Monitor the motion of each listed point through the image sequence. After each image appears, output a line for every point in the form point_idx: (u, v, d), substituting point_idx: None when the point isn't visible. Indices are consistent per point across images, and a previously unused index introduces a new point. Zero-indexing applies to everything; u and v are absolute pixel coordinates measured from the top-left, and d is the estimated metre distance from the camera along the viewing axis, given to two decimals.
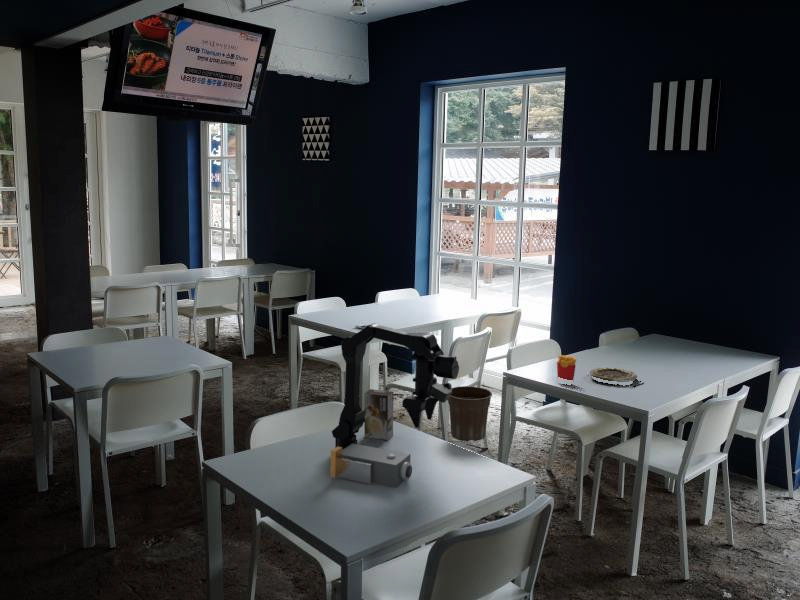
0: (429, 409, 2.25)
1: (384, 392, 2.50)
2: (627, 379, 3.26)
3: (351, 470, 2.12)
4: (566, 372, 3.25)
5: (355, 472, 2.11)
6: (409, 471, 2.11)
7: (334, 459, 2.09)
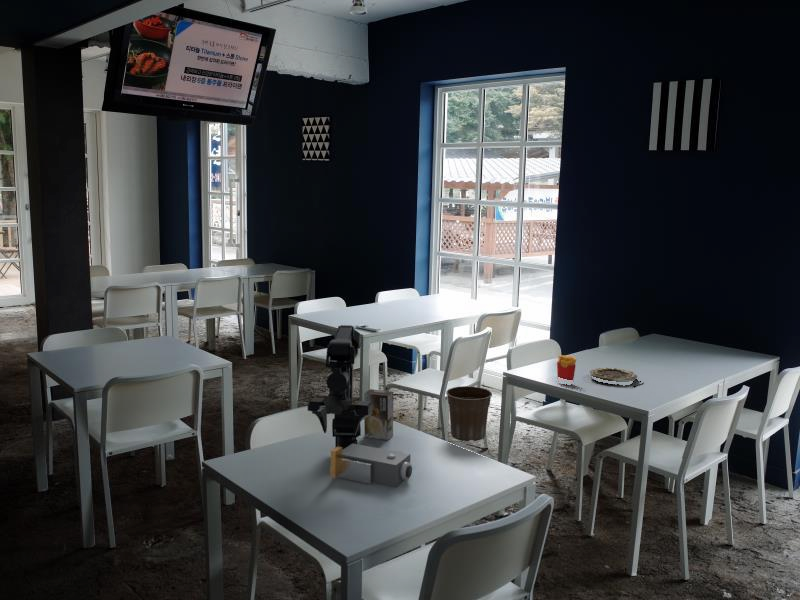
0: None
1: (384, 392, 2.50)
2: (627, 379, 3.25)
3: (351, 470, 2.12)
4: (566, 372, 3.25)
5: (355, 472, 2.11)
6: (409, 471, 2.11)
7: (334, 459, 2.09)
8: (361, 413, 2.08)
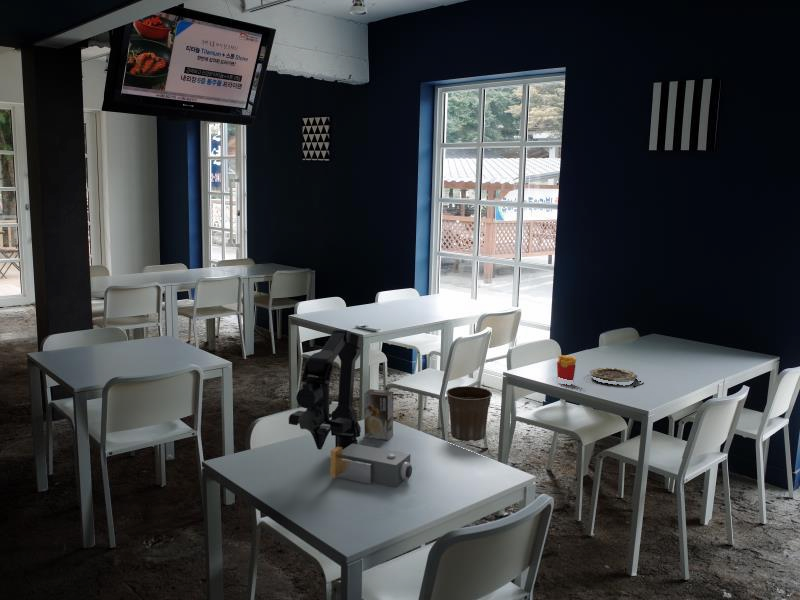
0: None
1: (384, 392, 2.50)
2: (627, 379, 3.25)
3: (351, 470, 2.12)
4: (566, 372, 3.25)
5: (355, 472, 2.11)
6: (409, 471, 2.11)
7: (334, 459, 2.09)
8: (336, 430, 2.06)
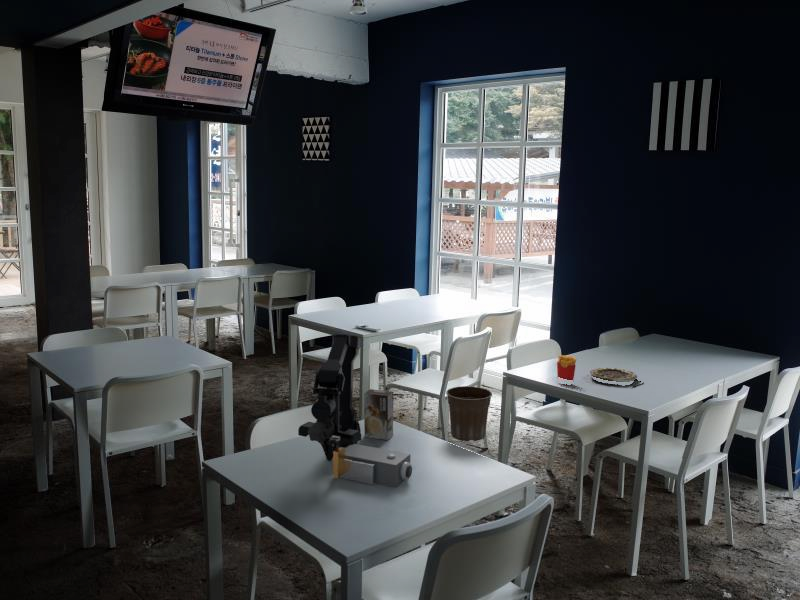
0: None
1: (384, 392, 2.50)
2: (627, 379, 3.25)
3: (353, 471, 2.11)
4: (566, 372, 3.25)
5: (357, 472, 2.11)
6: (409, 471, 2.11)
7: (337, 460, 2.08)
8: (346, 442, 2.05)
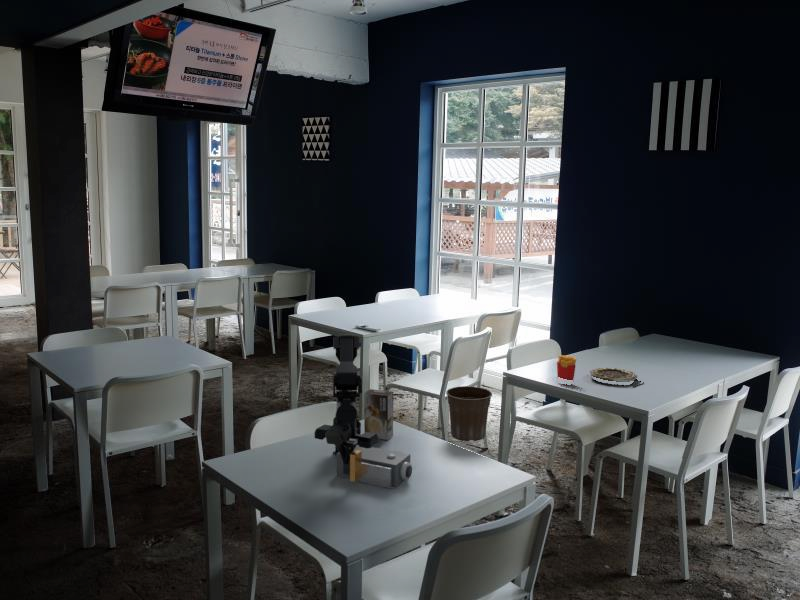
0: None
1: (384, 392, 2.50)
2: (627, 379, 3.25)
3: (370, 474, 2.09)
4: (566, 372, 3.25)
5: (374, 476, 2.08)
6: (409, 471, 2.11)
7: (354, 463, 2.06)
8: (363, 445, 2.02)
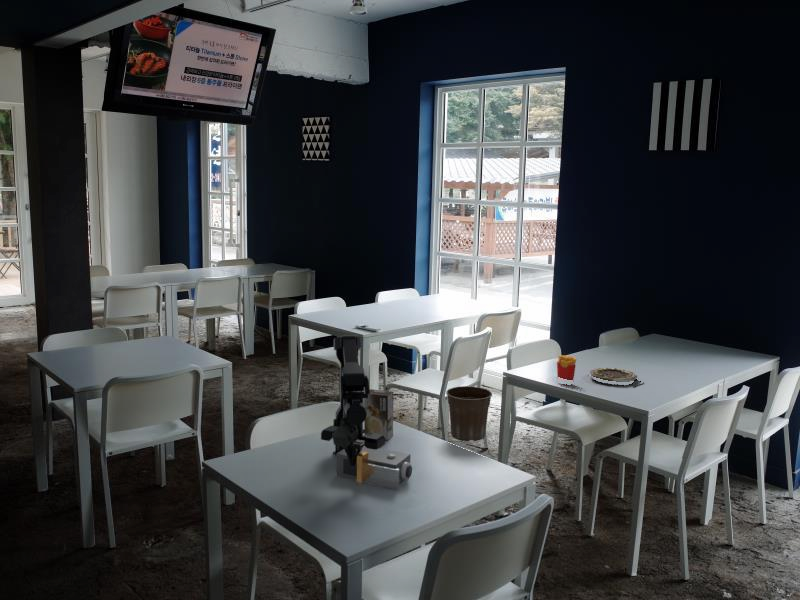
0: None
1: (384, 392, 2.50)
2: (627, 379, 3.25)
3: (377, 476, 2.08)
4: (566, 372, 3.25)
5: (381, 477, 2.07)
6: (409, 471, 2.11)
7: (360, 464, 2.05)
8: (370, 447, 2.01)
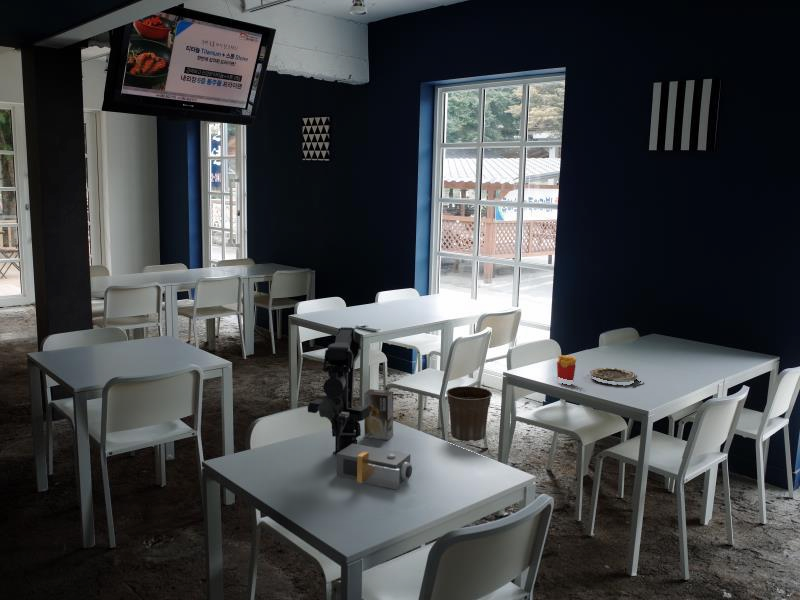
0: None
1: (384, 392, 2.50)
2: (627, 379, 3.25)
3: (377, 476, 2.08)
4: (566, 372, 3.25)
5: (382, 477, 2.07)
6: (409, 471, 2.11)
7: (361, 464, 2.05)
8: (355, 418, 2.09)
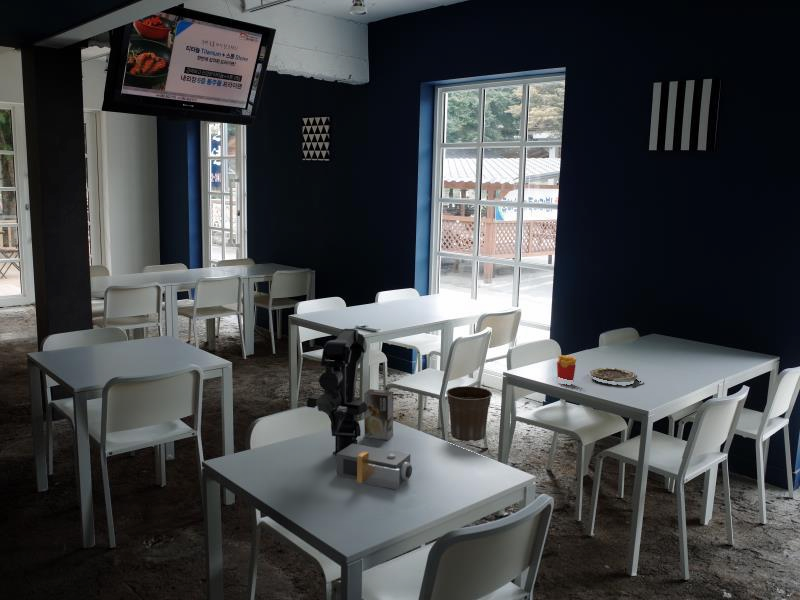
0: None
1: (384, 392, 2.50)
2: (627, 379, 3.25)
3: (377, 476, 2.08)
4: (566, 372, 3.25)
5: (382, 477, 2.07)
6: (409, 471, 2.11)
7: (361, 464, 2.05)
8: (352, 412, 2.13)
